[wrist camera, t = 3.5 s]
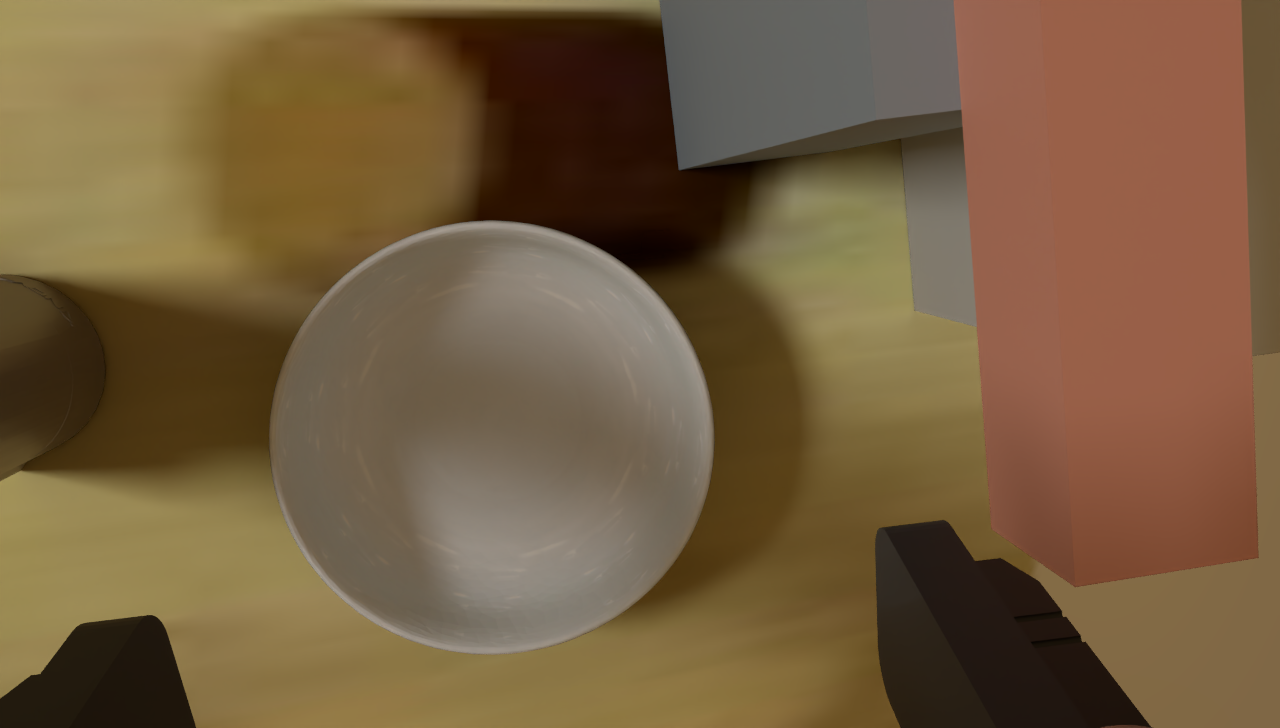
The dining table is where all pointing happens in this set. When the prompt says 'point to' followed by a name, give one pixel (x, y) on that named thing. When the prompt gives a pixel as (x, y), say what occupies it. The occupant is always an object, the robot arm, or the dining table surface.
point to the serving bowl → (491, 437)
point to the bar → (1112, 280)
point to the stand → (909, 117)
